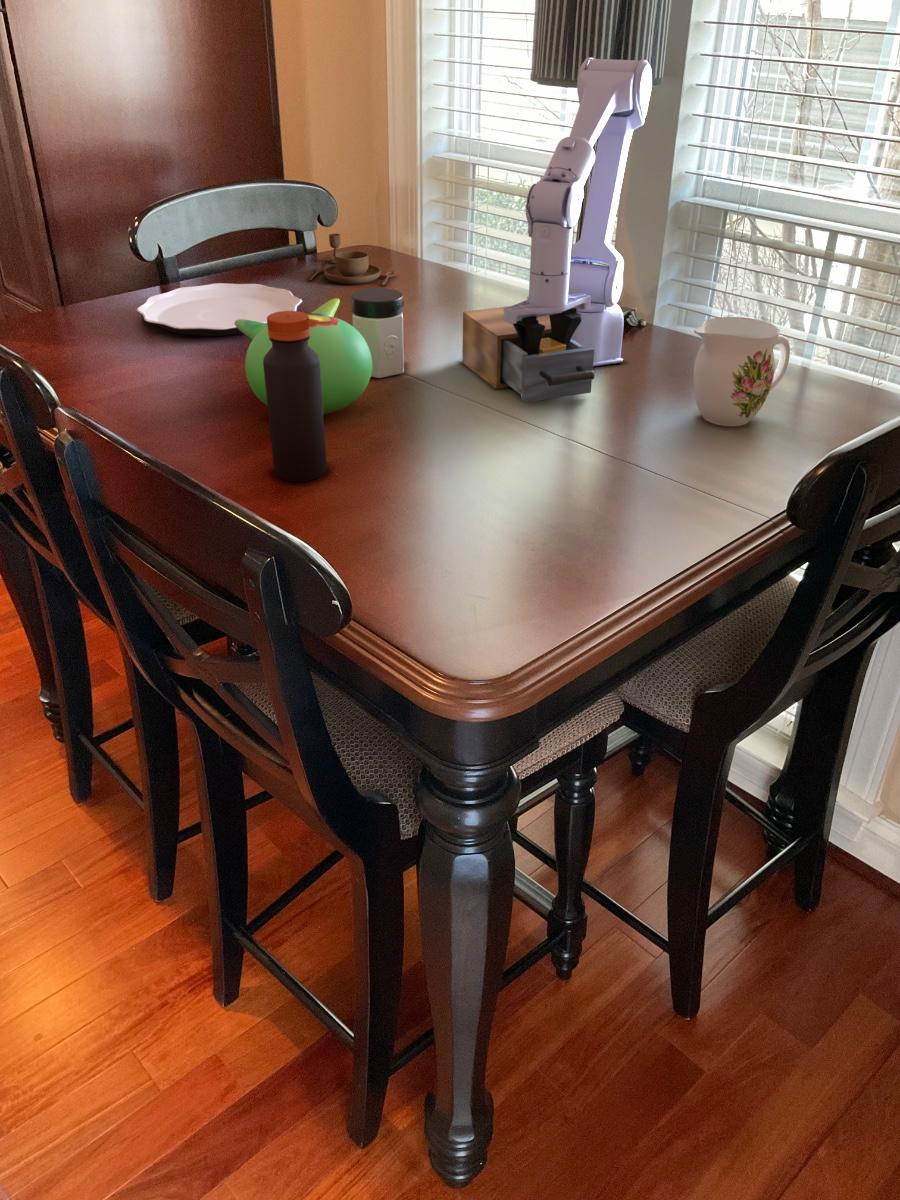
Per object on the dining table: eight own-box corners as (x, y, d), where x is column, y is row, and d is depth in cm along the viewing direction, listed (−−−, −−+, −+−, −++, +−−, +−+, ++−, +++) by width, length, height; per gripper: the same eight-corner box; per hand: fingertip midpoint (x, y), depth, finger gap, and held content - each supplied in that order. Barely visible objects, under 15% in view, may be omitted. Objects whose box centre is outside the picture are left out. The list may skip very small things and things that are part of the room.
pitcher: (804, 418, 142) (824, 324, 134) (707, 441, 135) (723, 342, 127) (752, 394, 150) (768, 304, 143) (658, 414, 143) (670, 320, 135)
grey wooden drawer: (604, 401, 145) (608, 357, 141) (536, 412, 141) (539, 367, 137) (553, 366, 157) (555, 325, 154) (489, 375, 154) (490, 333, 150)
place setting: (303, 283, 202) (301, 254, 199) (329, 260, 219) (327, 233, 216) (386, 287, 200) (385, 258, 197) (405, 264, 216) (405, 236, 213)
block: (564, 373, 148) (566, 345, 146) (541, 379, 146) (542, 350, 144) (546, 365, 151) (548, 337, 149) (523, 370, 149) (525, 342, 147)
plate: (333, 310, 186) (332, 297, 185) (225, 352, 165) (223, 338, 164) (219, 287, 199) (218, 275, 198) (106, 323, 178) (103, 310, 177)
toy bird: (266, 440, 134) (255, 334, 126) (237, 399, 147) (226, 301, 139) (389, 421, 140) (385, 318, 132) (351, 383, 153) (346, 288, 145)
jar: (367, 382, 154) (364, 305, 147) (343, 367, 159) (339, 292, 153) (416, 371, 158) (415, 296, 151) (390, 357, 164) (388, 284, 157)
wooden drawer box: (566, 378, 155) (570, 326, 151) (495, 389, 151) (497, 335, 147) (529, 353, 166) (531, 303, 161) (462, 362, 162) (462, 311, 157)
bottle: (264, 478, 124) (247, 321, 113) (290, 457, 130) (276, 305, 119) (312, 486, 122) (299, 328, 111) (336, 465, 127) (326, 311, 117)
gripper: (572, 258, 147) (565, 347, 154) (492, 271, 140) (490, 363, 147) (602, 268, 142) (594, 360, 149) (521, 282, 135) (517, 377, 142)
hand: (544, 362), depth 148 cm, fingers closed on block, 4 cm apart
